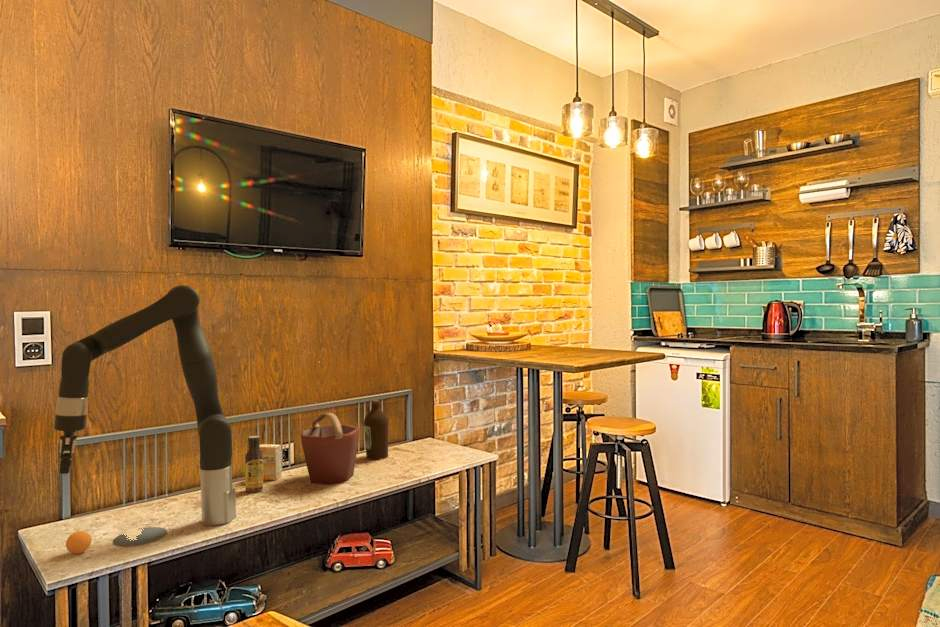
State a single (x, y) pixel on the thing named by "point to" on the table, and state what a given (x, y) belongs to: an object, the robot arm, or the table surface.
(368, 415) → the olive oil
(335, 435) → the bucket
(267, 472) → the supplement box
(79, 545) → the ball
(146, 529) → the dark grey flat disc
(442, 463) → the table surface
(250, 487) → the sauce bottle
